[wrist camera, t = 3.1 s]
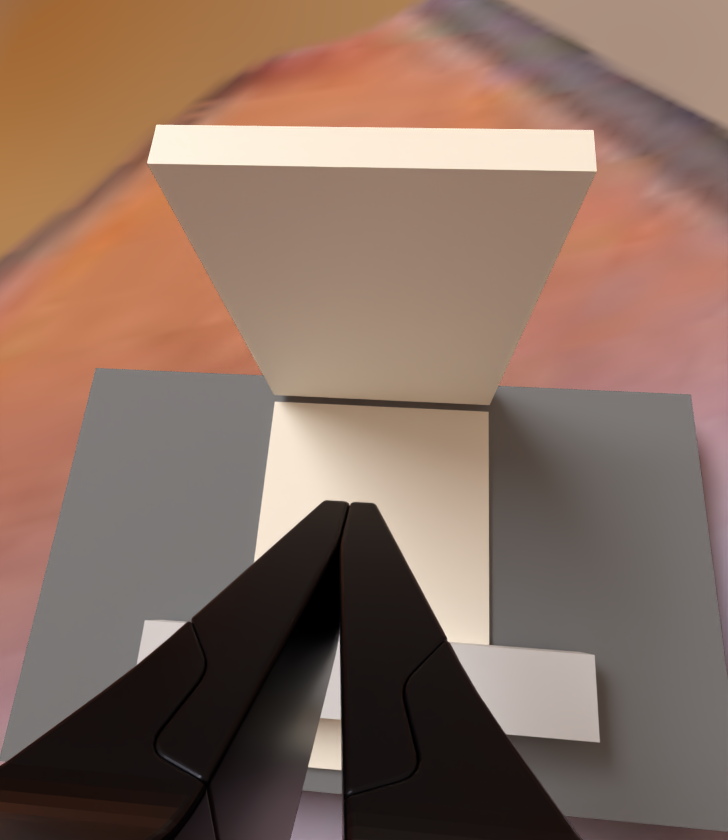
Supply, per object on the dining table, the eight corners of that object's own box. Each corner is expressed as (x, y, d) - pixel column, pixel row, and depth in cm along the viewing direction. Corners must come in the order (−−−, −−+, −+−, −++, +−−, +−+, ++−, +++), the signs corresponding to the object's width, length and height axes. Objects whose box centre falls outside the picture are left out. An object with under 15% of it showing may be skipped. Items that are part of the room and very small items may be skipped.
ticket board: (705, 807, 16) (784, 856, 13) (42, 744, 17) (-38, 774, 14) (662, 415, 20) (714, 377, 17) (121, 389, 21) (74, 350, 18)
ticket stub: (489, 405, 18) (596, 171, 8) (274, 395, 18) (147, 163, 9) (489, 379, 18) (592, 125, 9) (277, 370, 19) (157, 120, 9)
